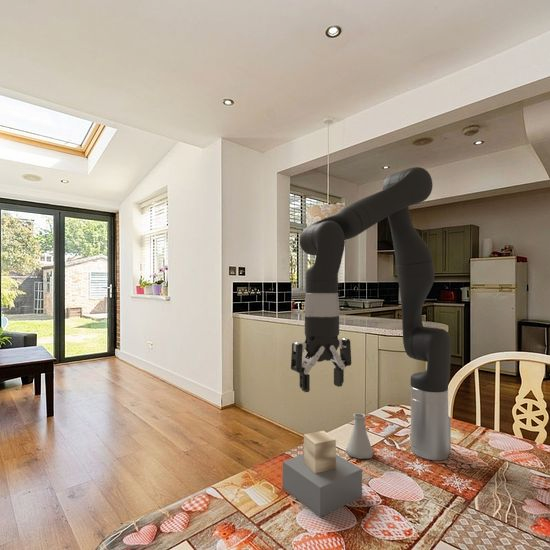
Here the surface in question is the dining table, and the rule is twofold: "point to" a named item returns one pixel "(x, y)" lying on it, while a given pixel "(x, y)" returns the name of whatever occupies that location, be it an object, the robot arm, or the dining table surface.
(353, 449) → the flask
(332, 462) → the birch block
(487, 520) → the dining table surface
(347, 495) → the grey box
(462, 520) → the dining table surface
